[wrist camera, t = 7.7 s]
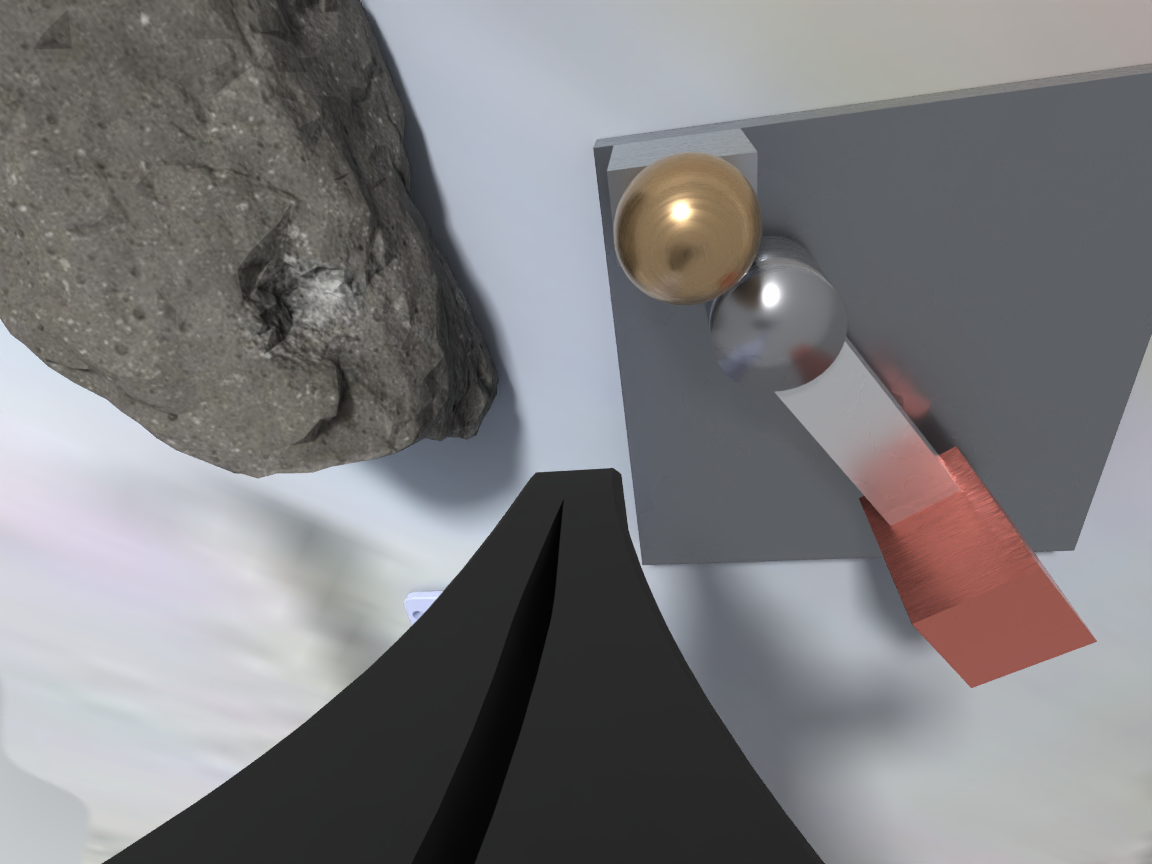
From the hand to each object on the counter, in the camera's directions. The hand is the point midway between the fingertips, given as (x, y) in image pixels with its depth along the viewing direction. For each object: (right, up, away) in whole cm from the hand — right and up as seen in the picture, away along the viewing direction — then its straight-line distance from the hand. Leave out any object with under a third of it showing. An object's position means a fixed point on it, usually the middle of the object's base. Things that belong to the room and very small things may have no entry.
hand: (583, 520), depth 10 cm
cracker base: (+8, +4, +9) cm, 13 cm away
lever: (+8, +2, +8) cm, 11 cm away
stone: (-8, +9, +8) cm, 15 cm away
